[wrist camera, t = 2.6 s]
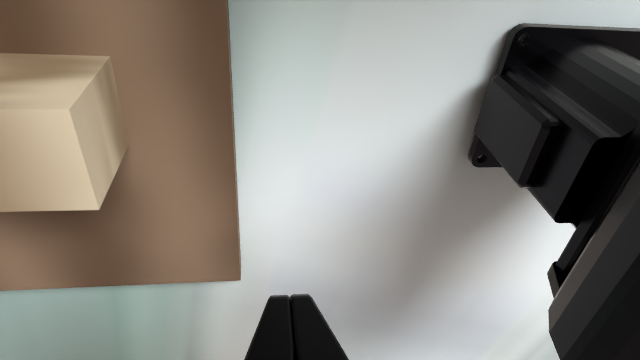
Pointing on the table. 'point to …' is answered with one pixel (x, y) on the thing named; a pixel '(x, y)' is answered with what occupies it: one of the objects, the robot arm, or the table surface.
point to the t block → (58, 131)
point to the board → (138, 148)
